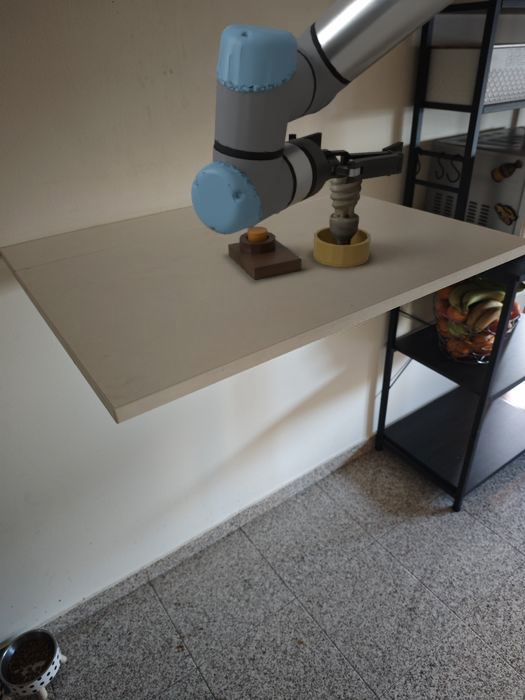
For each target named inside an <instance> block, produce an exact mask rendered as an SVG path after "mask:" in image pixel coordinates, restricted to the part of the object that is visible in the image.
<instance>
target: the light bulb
mask: <svg viewBox="0 0 525 700" xmlns="http://www.w3.org/2000/svg"><path fill="white" fill-rule="evenodd" d="M346 178H347V177H345V178H335V179H330V180H328V181H329V183H330V185H329V191H330V192H331V193H330V195H329V199H330V200H331V201H332V202H331V207H332V208H333V209H334V212H332V213H331V214H330V215H329V219H328V220H329V222H328V223H329V226H328V227H330V232H331V233H332V235H333V237H334V238H335V245H350V244H351V239H352V238H353V236H354V235H355V234H356V233H357V231H358V228H359V224H360V216H359V214H357V213H355V208H356V206H357V205H358V203H359V201H360V199H361V191H362V184H363V180H359V181H357V182H354V183H348V182H346Z"/></svg>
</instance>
